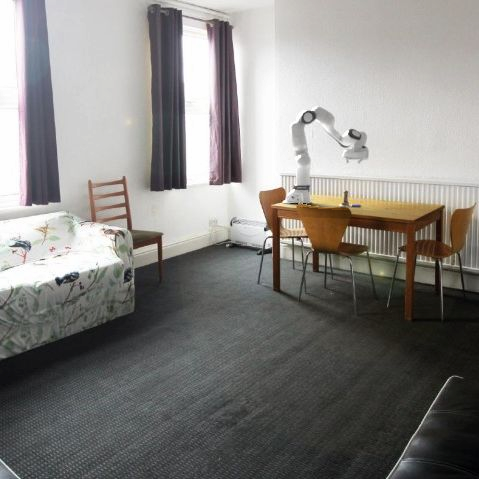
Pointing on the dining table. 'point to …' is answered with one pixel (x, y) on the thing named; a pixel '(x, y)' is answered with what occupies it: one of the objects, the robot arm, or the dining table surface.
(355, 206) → the ink pad
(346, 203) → the stamp
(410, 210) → the dining table surface
